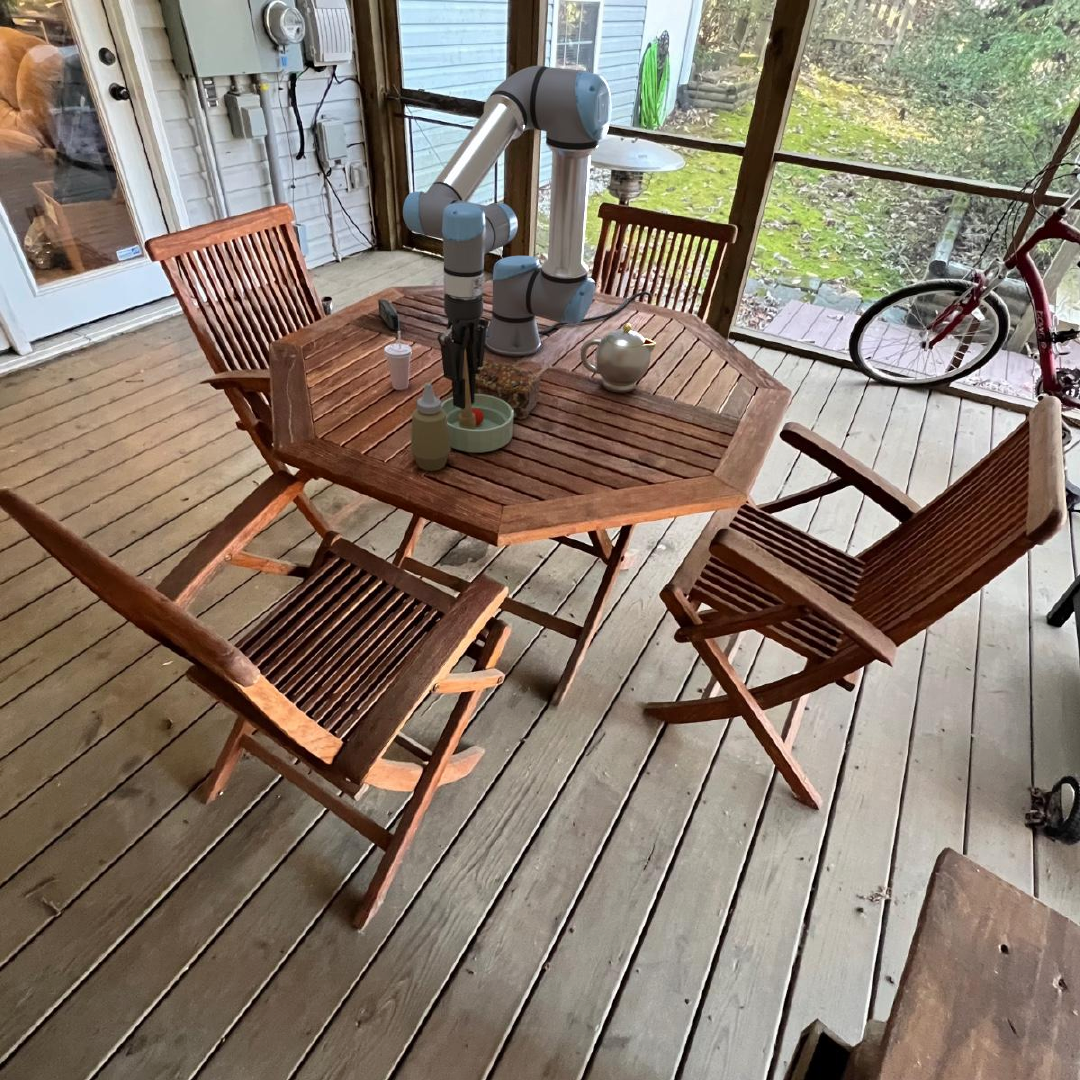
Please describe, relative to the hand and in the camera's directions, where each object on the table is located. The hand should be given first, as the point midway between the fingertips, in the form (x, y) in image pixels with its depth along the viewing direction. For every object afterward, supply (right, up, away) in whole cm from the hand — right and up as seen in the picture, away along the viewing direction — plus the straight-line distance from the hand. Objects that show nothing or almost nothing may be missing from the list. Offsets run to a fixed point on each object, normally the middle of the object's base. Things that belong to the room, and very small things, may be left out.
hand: (463, 403), depth 146 cm
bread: (+6, +3, +17) cm, 18 cm away
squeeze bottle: (-6, -13, -4) cm, 15 cm away
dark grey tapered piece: (-26, +32, +49) cm, 64 cm away
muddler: (+1, -5, +3) cm, 6 cm away
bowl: (+2, -6, +6) cm, 8 cm away
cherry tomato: (+2, -2, +7) cm, 7 cm away
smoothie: (-18, +8, +21) cm, 29 cm away
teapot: (+35, +10, +29) cm, 46 cm away
